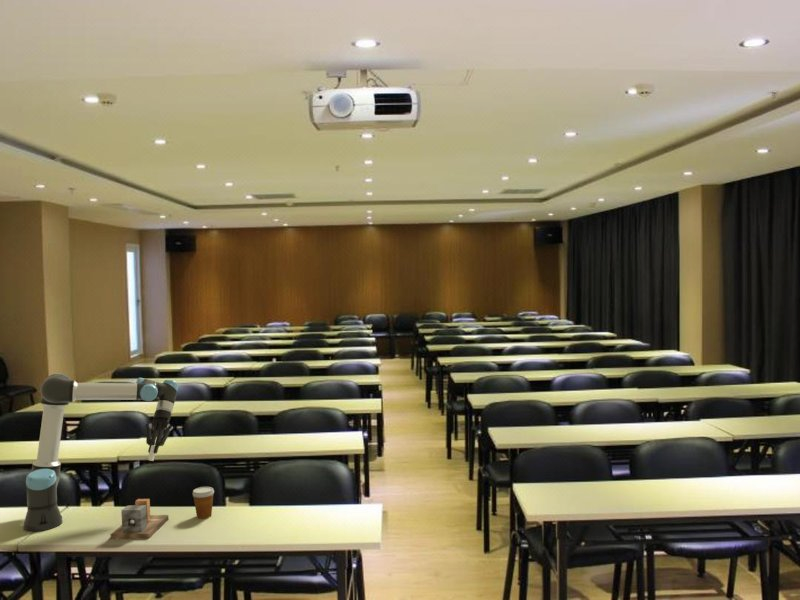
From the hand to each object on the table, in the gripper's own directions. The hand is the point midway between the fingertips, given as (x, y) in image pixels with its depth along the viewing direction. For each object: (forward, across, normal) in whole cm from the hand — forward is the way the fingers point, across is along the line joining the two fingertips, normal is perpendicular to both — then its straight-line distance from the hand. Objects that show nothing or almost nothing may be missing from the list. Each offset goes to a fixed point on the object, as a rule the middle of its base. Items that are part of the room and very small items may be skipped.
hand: (150, 459), depth 320 cm
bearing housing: (+32, -6, +6) cm, 33 cm away
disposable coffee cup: (+22, -28, -8) cm, 36 cm away
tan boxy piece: (+31, -6, +8) cm, 32 cm away
